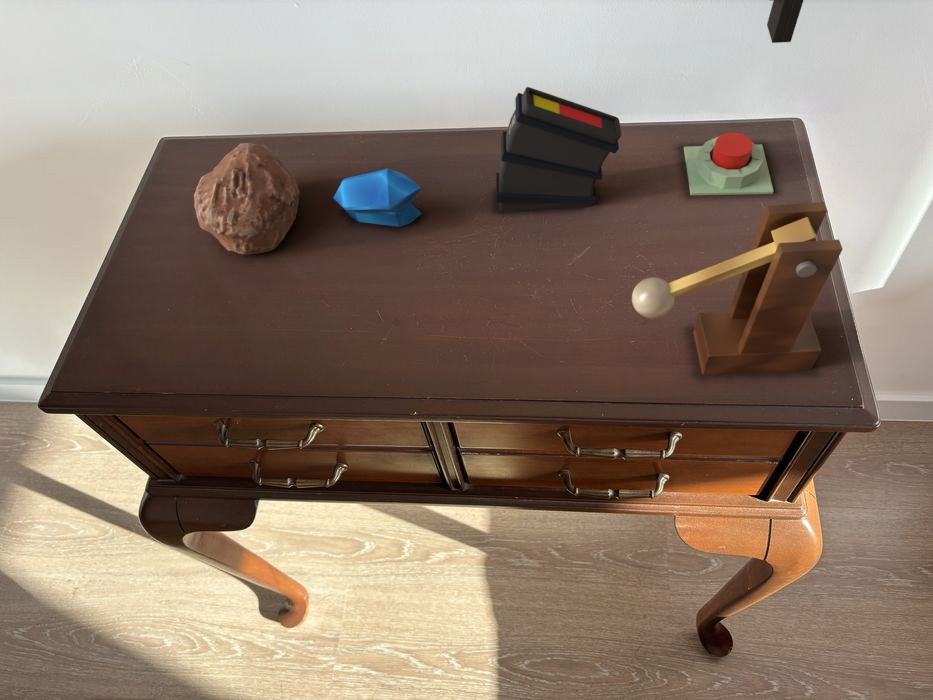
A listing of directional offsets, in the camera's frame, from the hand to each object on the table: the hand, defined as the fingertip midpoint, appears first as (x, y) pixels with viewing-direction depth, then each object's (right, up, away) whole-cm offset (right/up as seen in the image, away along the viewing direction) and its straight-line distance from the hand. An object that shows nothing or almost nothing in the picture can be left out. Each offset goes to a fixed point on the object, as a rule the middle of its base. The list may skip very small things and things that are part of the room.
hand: (778, 33), depth 59 cm
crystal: (-36, -12, +24) cm, 45 cm away
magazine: (-16, -10, +23) cm, 30 cm away
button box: (+4, -7, +22) cm, 24 cm away
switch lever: (-5, -22, -1) cm, 22 cm away
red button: (+4, -5, +20) cm, 21 cm away
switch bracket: (+1, -28, +8) cm, 29 cm away
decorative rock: (-51, -12, +25) cm, 59 cm away
